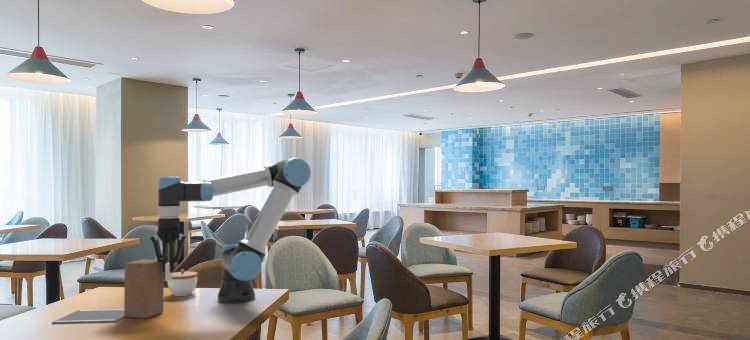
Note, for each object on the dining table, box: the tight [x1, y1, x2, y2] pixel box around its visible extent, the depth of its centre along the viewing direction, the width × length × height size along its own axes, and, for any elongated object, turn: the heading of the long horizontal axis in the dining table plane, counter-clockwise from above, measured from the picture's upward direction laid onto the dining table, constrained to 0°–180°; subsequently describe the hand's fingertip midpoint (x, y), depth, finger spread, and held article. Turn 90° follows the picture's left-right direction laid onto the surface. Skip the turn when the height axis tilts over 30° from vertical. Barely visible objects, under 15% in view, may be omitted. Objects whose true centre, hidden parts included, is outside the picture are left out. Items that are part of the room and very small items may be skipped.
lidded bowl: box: [167, 269, 199, 297], centre depth 220 cm, size 13×13×11 cm
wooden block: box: [123, 258, 165, 319], centre depth 185 cm, size 10×10×20 cm
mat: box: [51, 308, 126, 325], centre depth 183 cm, size 22×17×1 cm
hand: (168, 280), depth 185 cm, fingers closed
